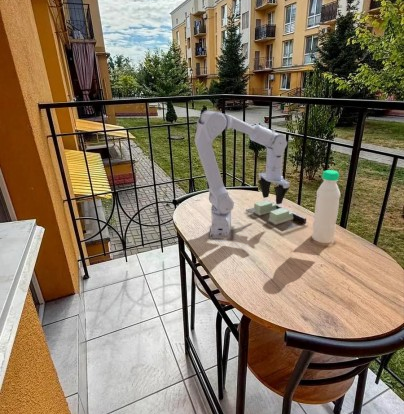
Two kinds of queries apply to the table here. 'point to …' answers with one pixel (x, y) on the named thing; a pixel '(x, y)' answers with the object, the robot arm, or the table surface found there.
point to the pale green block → (280, 216)
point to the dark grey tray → (283, 226)
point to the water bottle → (326, 208)
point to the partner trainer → (264, 207)
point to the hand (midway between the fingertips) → (272, 200)
